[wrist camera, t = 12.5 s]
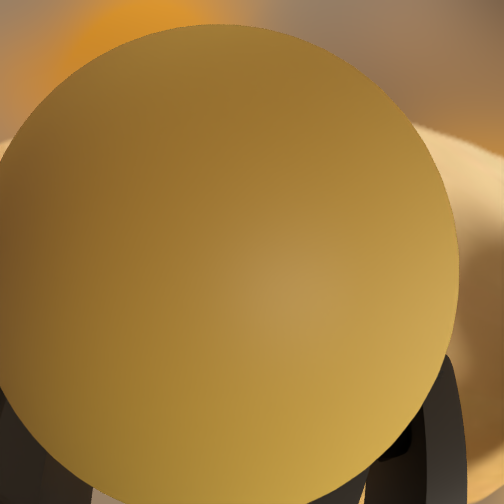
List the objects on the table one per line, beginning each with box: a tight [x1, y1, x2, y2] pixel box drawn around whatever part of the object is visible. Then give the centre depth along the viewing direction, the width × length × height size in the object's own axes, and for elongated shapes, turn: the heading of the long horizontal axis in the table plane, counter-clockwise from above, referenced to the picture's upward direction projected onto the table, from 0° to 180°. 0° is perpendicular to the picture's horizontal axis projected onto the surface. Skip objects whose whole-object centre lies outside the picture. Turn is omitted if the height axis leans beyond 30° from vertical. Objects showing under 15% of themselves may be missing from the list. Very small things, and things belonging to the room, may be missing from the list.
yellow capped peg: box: [0, 25, 459, 504], centre depth 9 cm, size 4×4×16 cm
